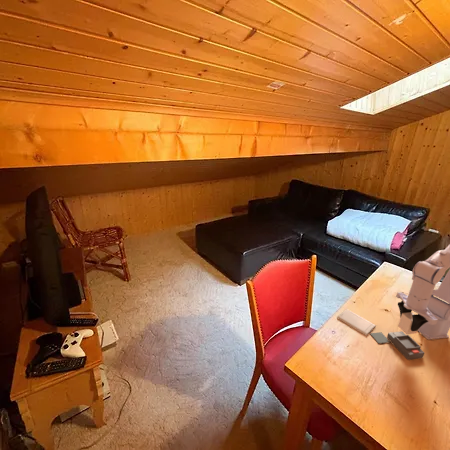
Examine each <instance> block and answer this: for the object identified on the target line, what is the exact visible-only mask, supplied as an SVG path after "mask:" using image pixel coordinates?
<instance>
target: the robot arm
mask: <svg viewBox="0 0 450 450" xmlns="http://www.w3.org/2000/svg"><path fill="white" fill-rule="evenodd" d="M448 269H449V270H448ZM447 270H448V271H447ZM446 271H447V273H446ZM443 276H445V277H444V278H443ZM441 279H443V280H442V281H441ZM411 280H412V283H411V285H410V289H409V291H408V295H407V294H405V293H404V292H402V291H399V292H397V293H396V294H395V295H396V296H395V298H397V299H400V300H401V301H400V302H397V306H398V310H399V317H400V318H401V316H402V313H409V312H413V313H416V314H415V315H412V318H413V321H412V326H411V331H417V330H418V331H417V332H419V333H420V335H422V336H423V337H424V338H425V339H426V340H437V339H446V338H449V337H450V336H449V335H448V333H449V330H450V243H449V244H448V246H446V247H445V249H441V250H440V249H439V250H437V251H435V252H434V253H433V254H432V255H431V256H429V257H428V258H427V259H425V260H422V261H421V260H420V261H418V262H417V263H416V264H415V265H414V266H413V269H412V278H411ZM440 281H441V283H440V285H439V286H438V288H436V284H438V283H439V282H440ZM435 288H436V289H435ZM400 318H399V319H400Z"/></svg>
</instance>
